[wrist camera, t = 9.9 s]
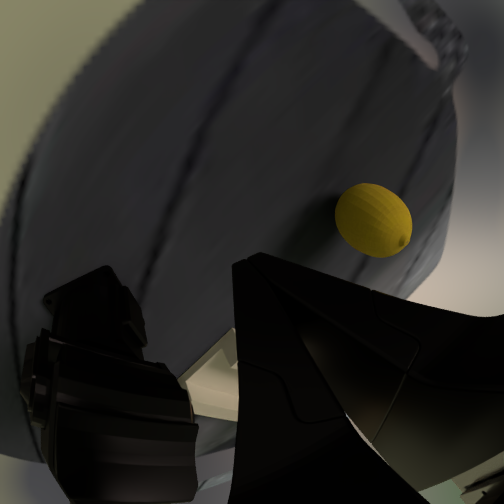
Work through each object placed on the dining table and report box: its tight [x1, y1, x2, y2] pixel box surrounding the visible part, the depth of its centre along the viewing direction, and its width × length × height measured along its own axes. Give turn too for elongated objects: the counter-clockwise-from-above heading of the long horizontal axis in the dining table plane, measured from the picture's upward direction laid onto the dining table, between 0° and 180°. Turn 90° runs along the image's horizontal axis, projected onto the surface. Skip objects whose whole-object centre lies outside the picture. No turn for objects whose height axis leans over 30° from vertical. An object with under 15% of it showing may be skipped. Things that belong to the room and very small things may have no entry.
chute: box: [177, 328, 239, 421], centre depth 33 cm, size 19×10×4 cm, turn 42°
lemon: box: [335, 183, 412, 257], centre depth 22 cm, size 6×6×8 cm
